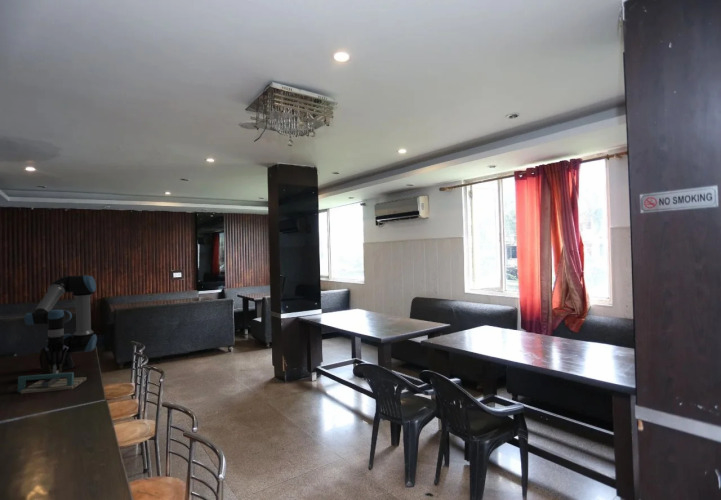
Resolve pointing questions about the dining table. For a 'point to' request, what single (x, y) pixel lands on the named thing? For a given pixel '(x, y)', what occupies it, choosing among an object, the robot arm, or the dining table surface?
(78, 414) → the dining table surface
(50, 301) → the robot arm
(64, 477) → the dining table surface
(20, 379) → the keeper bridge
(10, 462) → the dining table surface
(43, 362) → the beer stein
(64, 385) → the pivot plate
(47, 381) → the swing link
